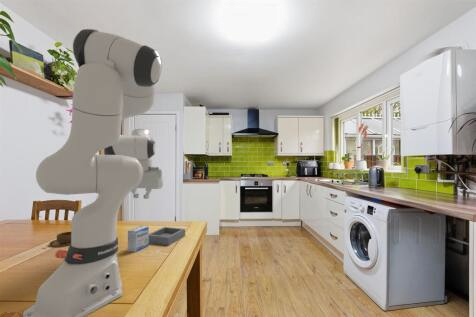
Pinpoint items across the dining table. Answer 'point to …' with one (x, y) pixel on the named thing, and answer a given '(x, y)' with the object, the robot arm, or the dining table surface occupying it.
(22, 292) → the dining table surface
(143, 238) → the medicine box
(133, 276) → the dining table surface
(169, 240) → the tray
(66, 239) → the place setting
